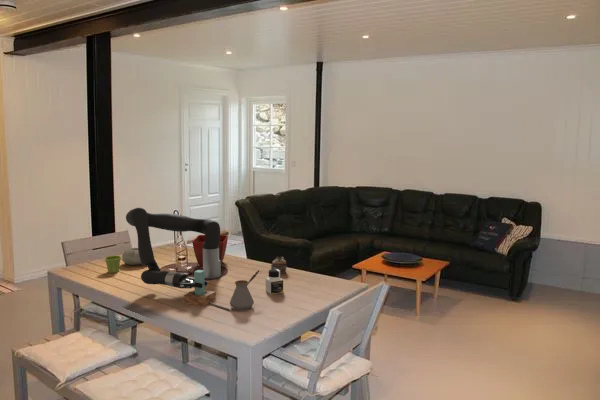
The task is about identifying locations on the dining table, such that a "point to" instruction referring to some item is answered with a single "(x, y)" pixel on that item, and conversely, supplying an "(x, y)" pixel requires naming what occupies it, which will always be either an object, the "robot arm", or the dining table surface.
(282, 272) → the cupcake
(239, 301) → the coffee pot
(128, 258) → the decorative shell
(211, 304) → the dark grey rod
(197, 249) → the plant pot
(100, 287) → the dining table surface
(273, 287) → the medicine bottle
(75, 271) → the dining table surface
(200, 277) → the peg
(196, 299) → the brown square slotted piece
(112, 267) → the plant pot
